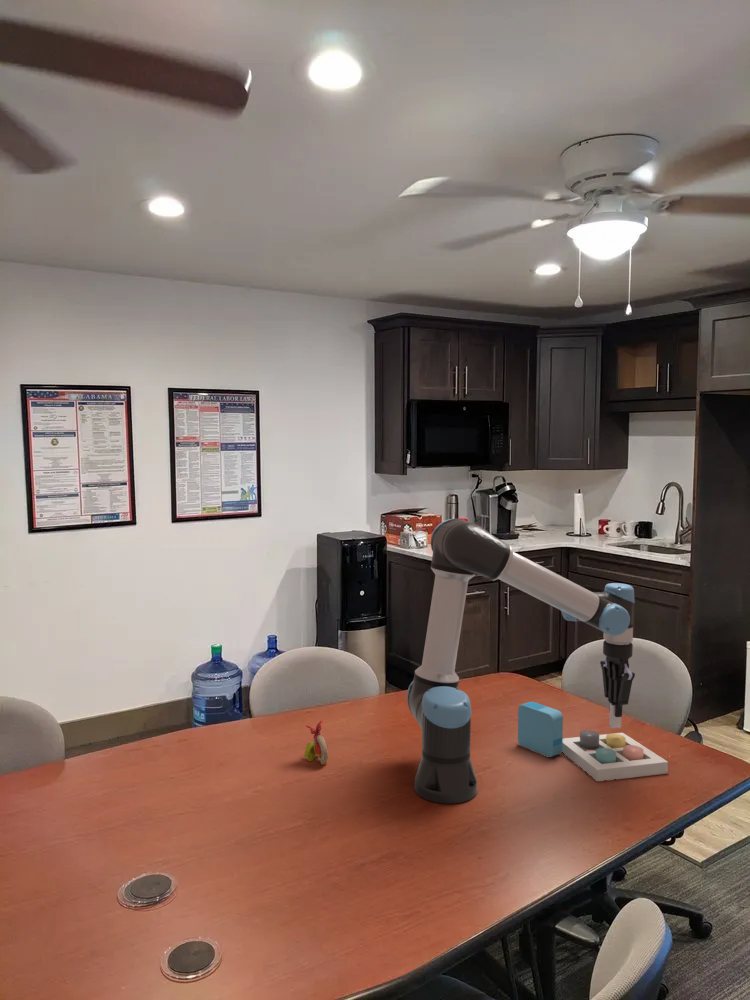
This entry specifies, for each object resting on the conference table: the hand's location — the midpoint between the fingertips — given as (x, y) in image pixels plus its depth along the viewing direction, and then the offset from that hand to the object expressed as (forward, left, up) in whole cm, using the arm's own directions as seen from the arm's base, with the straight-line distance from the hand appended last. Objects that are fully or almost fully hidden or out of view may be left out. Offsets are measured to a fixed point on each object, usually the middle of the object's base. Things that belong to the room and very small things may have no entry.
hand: (615, 727), depth 192 cm
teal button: (-8, -8, -6) cm, 13 cm away
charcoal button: (-8, 0, -4) cm, 9 cm away
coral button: (0, -8, -6) cm, 10 cm away
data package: (-19, +7, -8) cm, 21 cm away
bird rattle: (-79, +14, -8) cm, 80 cm away
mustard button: (0, 0, -6) cm, 6 cm away
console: (-4, -4, -7) cm, 9 cm away
